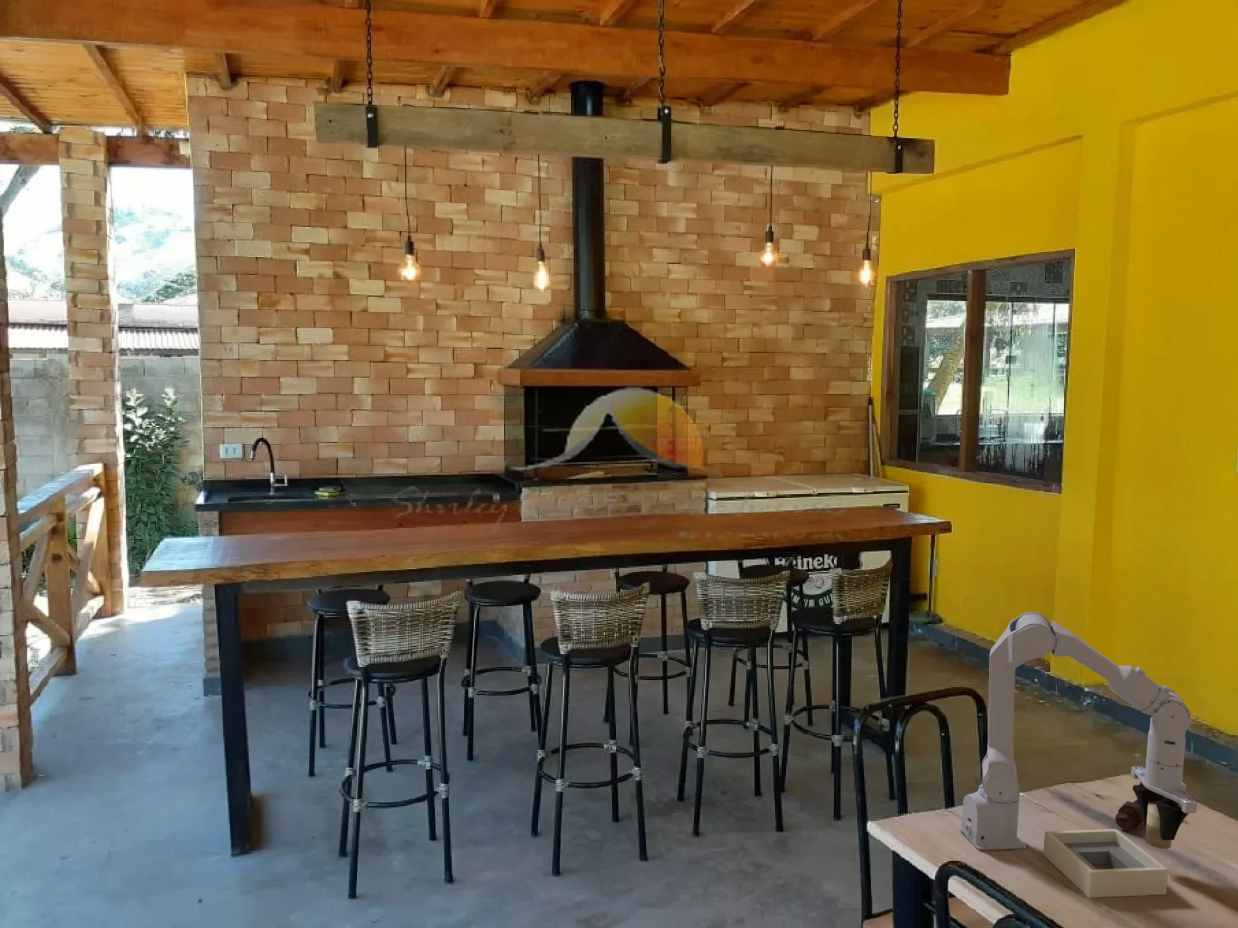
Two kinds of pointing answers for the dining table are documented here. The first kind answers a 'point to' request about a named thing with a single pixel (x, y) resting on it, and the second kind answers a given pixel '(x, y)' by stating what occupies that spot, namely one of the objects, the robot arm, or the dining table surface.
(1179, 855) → the dining table surface
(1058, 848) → the box
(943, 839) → the dining table surface
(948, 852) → the dining table surface
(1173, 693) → the robot arm
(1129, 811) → the bolt
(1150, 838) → the peg
